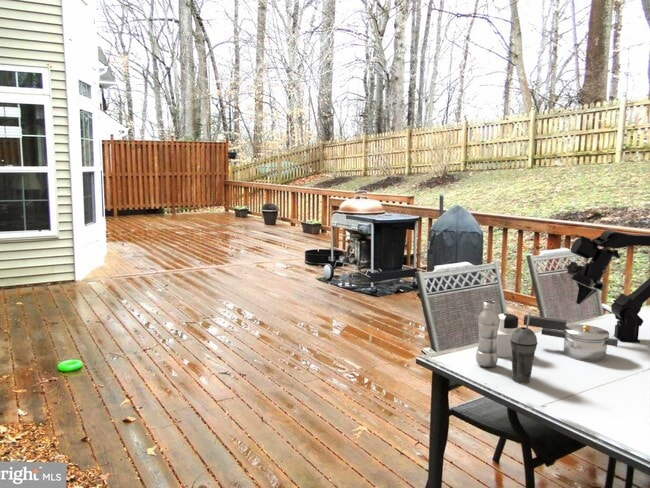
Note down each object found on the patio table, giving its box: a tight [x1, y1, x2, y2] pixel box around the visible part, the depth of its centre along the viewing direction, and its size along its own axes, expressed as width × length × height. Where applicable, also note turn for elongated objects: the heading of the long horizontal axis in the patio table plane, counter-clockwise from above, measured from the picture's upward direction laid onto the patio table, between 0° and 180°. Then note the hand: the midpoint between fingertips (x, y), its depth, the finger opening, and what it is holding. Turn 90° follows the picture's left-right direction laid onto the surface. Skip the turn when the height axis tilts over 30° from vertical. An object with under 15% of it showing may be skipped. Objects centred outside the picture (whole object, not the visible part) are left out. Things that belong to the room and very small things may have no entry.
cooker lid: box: [523, 314, 610, 341], centre depth 169 cm, size 26×13×3 cm, turn 60°
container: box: [497, 313, 519, 359], centre depth 167 cm, size 8×8×13 cm
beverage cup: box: [510, 311, 538, 385], centre depth 145 cm, size 7×7×20 cm
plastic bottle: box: [475, 300, 500, 368], centre depth 156 cm, size 6×7×20 cm
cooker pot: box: [540, 328, 619, 363], centre depth 168 cm, size 22×13×7 cm, turn 57°
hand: (577, 303), depth 183 cm, fingers closed
